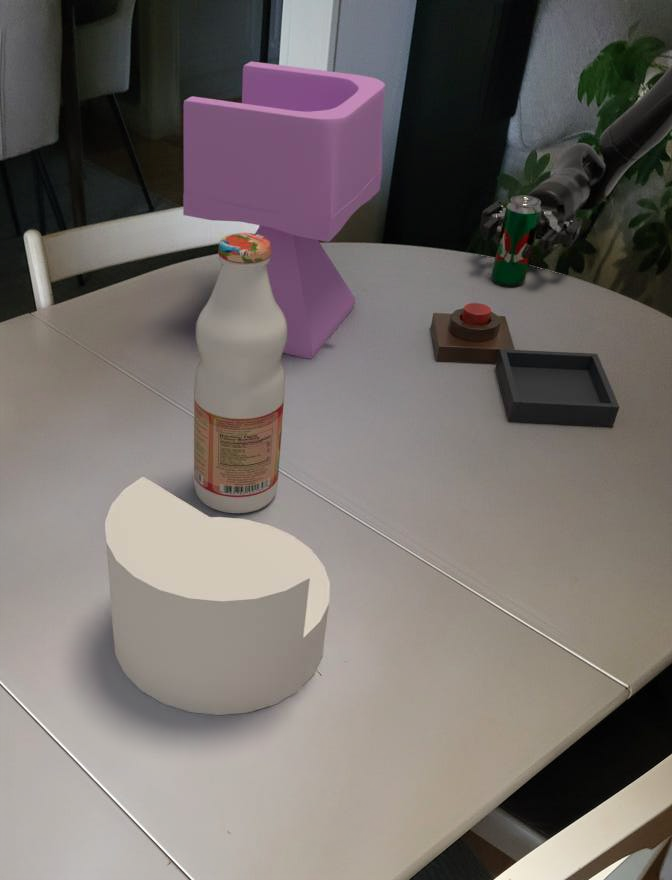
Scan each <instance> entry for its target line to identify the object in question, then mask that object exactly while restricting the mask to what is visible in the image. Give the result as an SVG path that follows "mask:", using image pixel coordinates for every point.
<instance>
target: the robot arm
mask: <svg viewBox="0 0 672 880" xmlns="http://www.w3.org/2000/svg"><path fill="white" fill-rule="evenodd" d="M671 130H672V65H670V66H669V68H667V70H666V71H665V72H664V74H663V75H662V76H661V77H660V78H659V79H658V80H657V81H656V83H655V84H654V85H653V86H652V87H651V88H650V89H648V91H647V92H646V93H645V94H644V95H642V97H640V99H638V101H636V102H635V103H634V104H633V105H632V106H631V107H629V108H627V110H626V111H625V112H623V113H622V114H621V115H620V116H619V117H618V118H616V120H615V121H613V122H612V123H611V124H610V125H609V126H608V127H607V128H606V129H604V131H602V133H601V135H600V137H599V140H598V147H599V151H600V154H601V157H602V159H601V157H600V156H599V155H598V153H597V152H596V150H595V149H594V148H593V147H592V146H591V145H589V144H588V143H585V142H577V143H575V144H572V145H570V146H569V147H567V148H566V149H565V150H564V151H563V152H562V153H561V154H560V155H559V156H558V157H557V158H556V160H555V162H554V164H553V165H552V167H551V170H550V172H549V178H547V179H545V180H543V181H542V182H541V183H539V184H538V185H537V186H536V187H535V188H533V189H532V190H531V191H530V192H529V193H527V195H526V196H531V197H535V198H537V199H539V200H540V201H541V204H540V206H541V209H542V212H541V216H540V220H539V224H538V228H537V232H536V236H535V240H540V243H539V246H538V253H541V254H544V253H545V252H546V251H551V250H552V249H553V248H554V247H558V245H561V247H562V248H565V249H569V248H571V247H572V245H574V243H575V241H576V240H577V239H578V238H579V235H580V232H581V229H582V225H583V221H584V219H583V218H581V217H575V218H574V216H575V215H576V214H577V212H578V211H580V210H583V211H587V210H592V209H595V208H596V207H598V206H600V205H601V204H602V203H603V202H604V201H605V200H606V199H607V198H608V196H609V195H610V193H611V192H612V191H613V189H614V188H615V186H616V185H617V184H618V182H619V180H620V179H621V178H622V177H623V175H624V174H625V173H626V171H628V169H630V167H631V166H633V164H635V162H637V161H638V160H639V159H640V158H641V157H643V156H644V155H646V154H647V153H648V152H649V151H650V150H651V149H653V148H654V147H655V146H656V145H658V144H659V143H660V142H661V141H662V140H663V139H664V138H666V136H667V135H668V134H669V133H670V132H671ZM504 203H505V202H504V201H502V200H498V201H495V202H494V203H492V204H491V205H489V206H488V207H487V208H485V209H484V210H482V212H481V219H480V223H479V229H481V236H482V237H483V240H486V241H490V239H491V238H493V237H494V236H495V235H496V234H497V233H501V229H502V225H503V220H504V215H505V211H506V207H504V205H505V204H504ZM573 218H574V219H573ZM501 221H502V222H501ZM500 222H501V224H500ZM499 224H500V225H499Z"/></svg>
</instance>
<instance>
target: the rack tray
mask: <svg viewBox="0 0 672 880" xmlns="http://www.w3.org/2000/svg"><path fill="white" fill-rule="evenodd" d="M494 368H495V373H496V376H497V380H498V385H499V388H500V392H501V396H502V399H503V404H504V409H505V412H506V415H507V420H508V422H509V423H510V422H511V423H529V424H530V423H531V424H548V425H549V424H550V425H551V424H552V425H570V426H584V427H585V426H588V427H605V428H607V427H608V428H613V427H614V425H615V424H614V423H615V422H616V419H617V416H618V413H619V410H620V405H619V402H618V400H617V397H616V395H615V392H614V390H613V387H612V385H611V383H610V381H609V378H608V376H607V374H606V371H605V368H604V366H603V364H602V361H601V359H600V356H599V354H598V353H591V352H590V353H589V352H569V351H548V350H528V349H527V350H525V349H515V350H507V349H500V350H499V354H498V359H497V363H496V364H495V367H494Z"/></svg>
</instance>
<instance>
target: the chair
mask: <svg viewBox="0 0 672 880" xmlns="http://www.w3.org/2000/svg"><path fill="white" fill-rule="evenodd" d="M241 87H242V90H241V102H234V101H229V100H223V99H222V100H221V99H214V98H207V97H199V96H190V97H188V98H187V99H185V100H183V192H182V193H183V194H182V199H183V200H182V203H183V205H182V207H183V209H182V211H183V212H182V213H183V216H187V217H191V218H197V219H202V220H207V221H215V222H216V221H217V222H218V221H219V222H220V221H221V222H239V223H246V224H251V225H256V226H258V228H257V230H256V231H255V233H254V234H258V235H261V236H263V237H265V238H267V239H268V240H269V241H270V245H271V255H270V260H269V262H268V264H267V273H268V278H269V282H270V286H271V290H272V293H273V296H274V299H275V302H276V303H277V305H278V306H279V307H280V309H281V311H282V312H283V314H284V316H285V319H286V323H287V341H286V345H285V348H284V351H283V353H282V354H287V355H289V356H295V357H299V358H304V359H308V360H312V359H313V358H314V357H315V356H316V354H317V353H318V352H319V351H320V350H321V348H323V346H324V345H325V343H326V342H327V341H328V340H329V339H330V337H331V336H332V335H333V334H334V333H335V332H336V330H337V329H339V327H340V326H341V325H342V324H343V322H344V321H345V319H347V317H348V316H349V314H350V313H351V312H352V311H353V310H354V308H355V302H356V298H355V297H356V296H355V295H354V294H353V293H352V291H351V290H350V288H349V286H348V285H347V283H346V281H345V280H344V279H343V277H342V275H341V274H340V272H339V271H338V269H337V267H336V266H335V264H334V263H333V261H332V260H331V258H330V256H329V255H328V253H327V252H326V250H325V249H324V248H323V245H322V244H321V242H327V243H330V241H332V239H334V237H335V236H336V235H337V234H338V233H340V231H341V230H342V229H343V227H344V226H345V225H346V223H347V222H348V221H349V220H350V218H351V217H352V216H353V215H354V213H356V211H358V210H359V208H361V207H362V206H363V205H364V204H366V203H368V202H369V201H370V200H371V199H373V197H375V196H376V194H377V193H379V192H380V190H381V183H382V182H381V181H382V175H383V121H384V119H383V118H384V109H385V95H386V84H385V82H383V81H382V80H380V79H378V78H376V77H371V76H367V75H361V74H354V73H353V74H352V73H346V72H338V71H330V70H322V69H315V68H306V67H299V66H290V65H283V64H275V63H267V62H258V61H253V60H252V61H249V62H248V63H245V64H244V65H243V67H242V85H241ZM196 325H197V321H196V322H195V326H196Z"/></svg>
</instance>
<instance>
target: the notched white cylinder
mask: <svg viewBox="0 0 672 880" xmlns="http://www.w3.org/2000/svg"><path fill="white" fill-rule="evenodd" d="M104 530H105V531H104V532H105V545H106V557H107V559H106V560H107V571H108V582H109V585H108V586H109V595H110V596H109V598H110V609H111V610H110V611H111V623H112V634H113V646H114V656H115V658H116V660H117V662H118V664H119V666H120V668H121V670H122V672H123V674H124V675H125V676H126V677H127V679H129V680H130V682H132V684H133V685H134V686H135V687H137V689H138V690H140V691H141V692H143V693H145V694H146V695H148V696H150V697H151V698H153V699H155V700H156V701H158V702H159V703H161V704H163V705H166V706H170V707H173V708H176V709H179V710H182V711H185V712H188V713H196V714H204V715H214V716H227V715H236V714H248V713H249V714H250V713H252V712H255V711H258V710H261V709H264V708H268V707H271V706H275V705H277V704H279V703H280V702H282V701H284V700H286V699H287V698H289V697H291V696H292V695H294V694H297V692H299V691H300V690H301V689H302V688H303V687H304V685H306V684H307V683H308V682H309V680H311V678H312V677H313V676H314V675H315V673H316V671H317V669H318V667H319V664H320V662H321V660H322V658H323V654H324V645H325V639H326V638H325V636H326V630H327V624H328V623H327V622H328V614H329V606H330V597H331V595H330V592H331V582H330V579H329V576H328V574H327V570H326V567H325V565H324V563H323V562H322V561H321V560H320V559H319V557H318V556H317V555H316V553H315V552H314V551H313V550H312V549H311V548H310V547H309V546H308V545H306V544H304V543H303V542H302V541H301V540H299V539H298V538H296V537H295V536H294V535H292V534H289V533H288V532H286V531H284V530H281V529H279V528H277V527H275V526H272V525H269V524H265V523H262V522H258V521H253V520H251V519H247V518H237V517H233V518H232V517H224V516H214V517H212V516H211V517H210V516H208V515H207V514H205V513H204V512H202V511H201V510H200V509H197V508H195V507H194V506H193V505H191V504H189V503H187V502H186V501H184V500H183V499H181V498H179V497H178V496H175V494H173V493H171V492H169V491H168V490H167V489H164V488H162V487H161V486H159V485H158V484H156V483H154V482H153V481H151V480H149V479H148V478H147V477H144V476H141V477H140V478H138V479H137V480H136V481H134V482H133V483H131V484H130V485H128V486H127V487H125V488H124V489H123V490H122V491H121V492H120V493H119V495H118V496H117V497H116V498H115V500H114V501H113V502H112V503H111V504H110V507H109V510H108V514H107V516H106V518H105V521H104Z"/></svg>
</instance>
